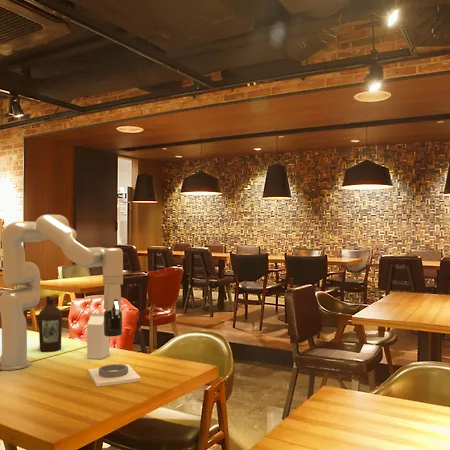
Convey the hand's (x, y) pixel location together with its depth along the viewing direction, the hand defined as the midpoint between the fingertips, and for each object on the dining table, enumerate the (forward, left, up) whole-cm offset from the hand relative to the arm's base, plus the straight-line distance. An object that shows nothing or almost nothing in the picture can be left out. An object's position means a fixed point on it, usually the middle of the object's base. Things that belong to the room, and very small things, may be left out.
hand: (113, 326), depth 188 cm
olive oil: (-18, +55, -19) cm, 61 cm away
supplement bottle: (0, 0, -3) cm, 3 cm away
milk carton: (0, +32, -19) cm, 37 cm away
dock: (0, 0, -19) cm, 19 cm away
